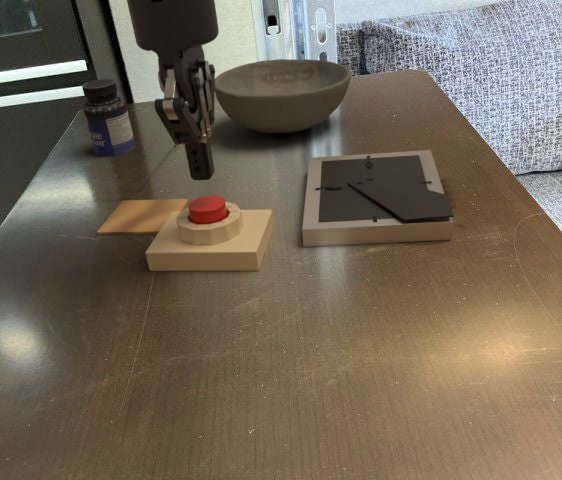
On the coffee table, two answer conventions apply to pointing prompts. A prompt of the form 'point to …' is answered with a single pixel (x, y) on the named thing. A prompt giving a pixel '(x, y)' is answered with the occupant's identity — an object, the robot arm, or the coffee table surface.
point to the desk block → (212, 242)
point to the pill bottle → (107, 118)
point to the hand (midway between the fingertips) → (203, 177)
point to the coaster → (140, 216)
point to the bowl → (282, 93)
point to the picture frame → (375, 200)
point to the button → (207, 210)
